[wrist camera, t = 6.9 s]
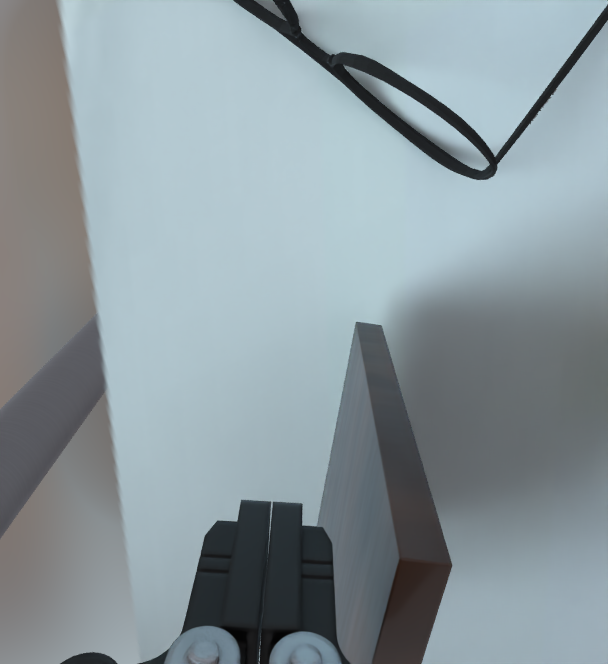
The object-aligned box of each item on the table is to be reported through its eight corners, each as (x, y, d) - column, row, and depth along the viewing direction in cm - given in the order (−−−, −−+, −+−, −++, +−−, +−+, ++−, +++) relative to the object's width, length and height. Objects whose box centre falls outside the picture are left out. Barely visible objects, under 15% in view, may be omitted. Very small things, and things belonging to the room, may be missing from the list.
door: (310, 556, 26) (308, 899, 15) (355, 321, 22) (399, 558, 10) (332, 559, 26) (346, 904, 15) (382, 324, 22) (453, 565, 11)
